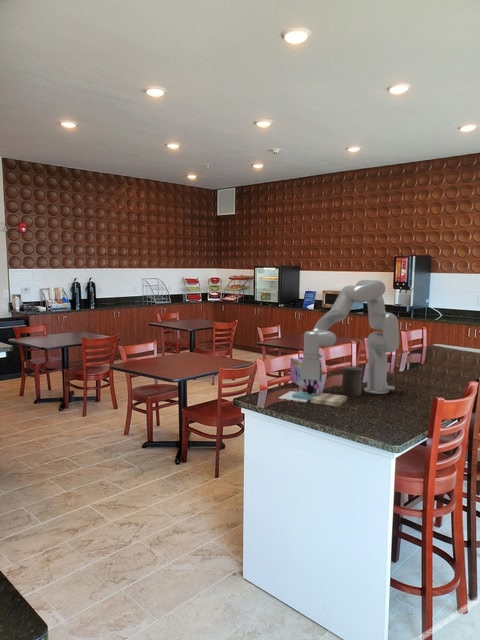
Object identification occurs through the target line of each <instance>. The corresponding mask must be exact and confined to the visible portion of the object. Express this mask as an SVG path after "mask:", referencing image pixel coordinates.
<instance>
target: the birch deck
mask: <svg viewBox="0 0 480 640" xmlns="http://www.w3.org/2000/svg"><path fill="white" fill-rule="evenodd" d="M347 400H348V396H347V395H343V394H342V395H341V394H334V393H326V392H318V393H316V395H315V396H313V397H312V398H310V400H309V401H310V404H319V405H326V406H333V407H341V405H343V404H344V403H345V402H346V401H347Z"/></svg>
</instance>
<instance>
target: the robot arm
mask: <svg viewBox="0 0 480 640" xmlns="http://www.w3.org/2000/svg"><path fill="white" fill-rule="evenodd" d="M385 293H386V285H385V283H384V282H383V281H382V280H378V279H375V280H374V279H372V280H371V279H362V280H359V281H357V282H356V283H355V285H346V286H344V287H342V289H341V290H340V292H339V294H338V296H337V297H336V300H335V301H334V303H333V305H332V306H331V308H330V310H329V311H327V312H326V313H325V314H324V315H322V317H320V318H319V319H318V321H317V322H316V324H315V326H314V327H313V329H312V330H307V331H305V332H304V334H303V359H302V363H301V369H300V380H301V381H304V382H305V383H306V385H307V389H306V392H308V394H312V393H314V392H315V389H314V385H315V384H316V383H319V384H320V383H322V378H323V367H322V360H321V359H322V358H323V355H322V354H320V347H332V346H333V345H335V343H336V342H337V335H336V334H335V333H334V332H332V331H330V330H329V329H330V327H332V326H333V325H334V324H336V323H338V322H342V321H343V320H345V319H346V318H347V316H348V315H349V313H350V311H351V309H352V308H353V305H354V304H364V303H367V311H368V315H367V316H368V324H369V327H370V328H371V329H373V330H375V331H373V332H371V333H369V335H368V336H367V340H366V343H367V349H368V350H367V351H368V362H367V363H368V364H367V384H366V385H367V386H366V387H364V389H363V390H364V391H365V392H366V393H370V394H374V395H375V394H376V395H377V394H380V395H383V394H384V395H385V394H388V393H389V392H390V390H391V391H395V386H394V385H389V383H388V382H387V377H388V376H387V373H388V372H387V371H388V370H387V368H388V355H387V353H394V352H396V351H397V350H398V349H399V346H400V329H399V321H398V317H397V315H395V314H393V313H392V312H387V311H386V306H385V299H384V297H383V295H384V294H385ZM376 330H378V331H376ZM310 380H312V381H311V384H310Z"/></svg>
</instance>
